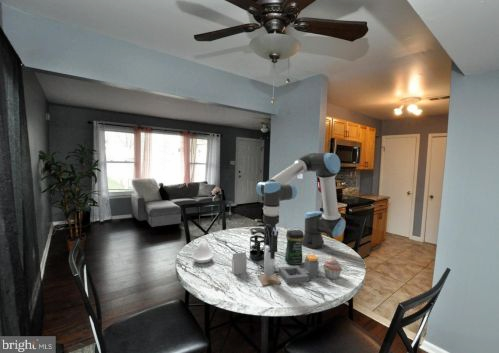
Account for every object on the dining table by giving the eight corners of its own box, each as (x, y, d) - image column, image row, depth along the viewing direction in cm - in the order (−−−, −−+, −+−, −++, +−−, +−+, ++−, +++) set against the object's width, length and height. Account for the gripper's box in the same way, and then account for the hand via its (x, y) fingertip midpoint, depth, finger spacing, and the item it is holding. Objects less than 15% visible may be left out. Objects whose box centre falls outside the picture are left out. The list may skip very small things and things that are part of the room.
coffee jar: (288, 265, 128) (289, 232, 126) (283, 259, 136) (284, 228, 134) (304, 264, 130) (306, 232, 128) (298, 258, 137) (300, 227, 136)
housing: (309, 269, 124) (310, 255, 123) (321, 280, 113) (322, 264, 112) (278, 273, 119) (278, 258, 119) (287, 284, 108) (287, 268, 108)
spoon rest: (213, 265, 126) (214, 252, 126) (191, 266, 124) (191, 253, 124) (212, 248, 150) (212, 237, 149) (193, 249, 147) (193, 238, 147)
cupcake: (324, 270, 124) (325, 252, 123) (342, 275, 119) (344, 256, 118) (320, 277, 116) (321, 258, 115) (339, 283, 111) (341, 263, 110)
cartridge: (272, 269, 115) (273, 244, 114) (275, 274, 110) (276, 248, 109) (262, 270, 113) (263, 244, 113) (265, 275, 109) (266, 248, 108)
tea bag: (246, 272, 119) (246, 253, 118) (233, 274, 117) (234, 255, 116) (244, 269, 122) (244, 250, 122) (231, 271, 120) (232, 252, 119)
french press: (266, 261, 132) (267, 222, 131) (250, 262, 131) (251, 222, 129) (263, 253, 144) (264, 216, 142) (247, 253, 143) (248, 216, 141)
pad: (274, 274, 118) (274, 273, 117) (281, 283, 109) (281, 282, 109) (257, 276, 115) (257, 275, 115) (262, 286, 107) (263, 284, 107)
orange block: (313, 265, 120) (313, 254, 120) (317, 269, 116) (318, 258, 115) (304, 266, 119) (305, 255, 119) (309, 270, 115) (310, 259, 114)
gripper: (258, 210, 117) (256, 255, 119) (270, 219, 100) (268, 271, 102) (272, 210, 119) (270, 253, 121) (286, 218, 102) (284, 270, 104)
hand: (269, 261), depth 111 cm, fingers closed on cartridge, 5 cm apart
